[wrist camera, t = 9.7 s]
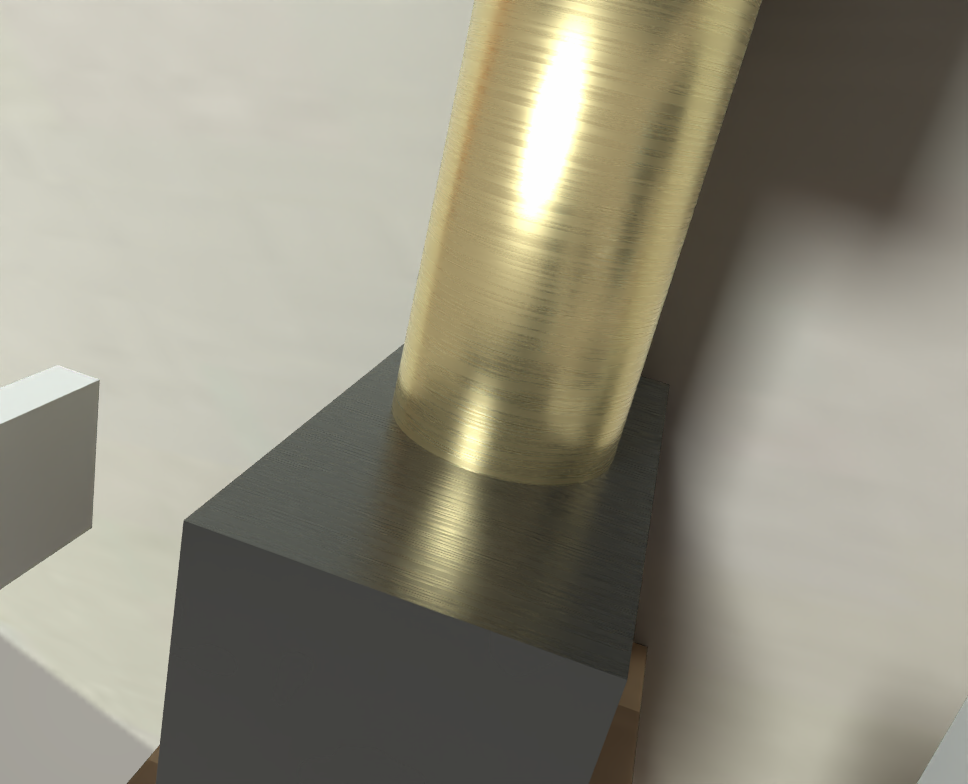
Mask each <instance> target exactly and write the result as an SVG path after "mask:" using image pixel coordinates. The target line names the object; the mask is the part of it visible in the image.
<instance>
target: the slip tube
mask: <svg viewBox="0 0 968 784" xmlns="http://www.w3.org/2000/svg"><path fill="white" fill-rule="evenodd" d="M761 2H762V0H475V1H474V5H473V10H472V15H471V20H470V25H469V30H468V35H467V40H466V45H465V49H464V54H463V59H462V64H461V69H460V74H459V79H458V84H457V89H456V94H455V98H454V103H453V108H452V113H451V118H450V123H449V128H448V133H447V138H446V142H445V147H444V152H443V157H442V162H441V167H440V172H439V177H438V182H437V187H436V191H435V196H434V201H433V206H432V211H431V216H430V221H429V226H428V231H427V235H426V240H425V245H424V250H423V255H422V260H421V265H420V270H419V275H418V280H417V284H416V289H415V294H414V299H413V304H412V309H411V314H410V319H409V324H408V329H407V333H406V338H405V343H404V344H403V345H402V346H401V347H400V348H398V349H397V350H396V351H395V352H393V353H392V354H391V355H390V356H388V357H387V358H386V359H385V360H383V361H382V362H381V363H380V364H378V365H377V366H376V367H375V368H373V369H372V370H371V371H370V372H368V373H367V374H366V375H365V376H363V377H362V378H361V379H360V380H358V381H357V382H356V383H355V384H353V385H352V386H351V387H350V388H348V389H347V390H346V391H345V392H343V393H342V394H341V395H340V396H338V397H337V398H336V399H335V400H333V401H332V402H331V403H330V404H328V405H327V406H326V407H325V408H323V409H322V410H321V411H320V412H318V413H317V414H316V415H315V416H313V417H312V418H311V419H310V420H308V421H307V422H306V423H305V424H304V425H302V426H301V427H300V428H299V429H297V430H296V431H295V432H294V433H292V434H291V435H290V436H289V437H287V438H286V439H285V440H284V441H282V442H281V443H280V444H279V445H277V446H276V447H275V448H274V449H272V450H271V451H270V452H269V453H267V454H266V455H265V456H264V457H262V458H261V459H260V460H259V461H257V462H256V463H255V464H254V465H252V466H251V467H250V468H249V469H247V470H246V471H245V472H244V473H242V474H241V475H240V476H239V477H237V478H236V479H235V480H234V481H232V482H231V483H230V484H229V485H227V486H226V487H225V488H224V489H222V490H221V491H220V492H219V493H217V494H216V495H215V496H214V497H212V498H211V499H210V500H209V501H207V502H206V503H205V504H204V505H203V506H201V507H200V508H199V509H198V510H196V511H195V512H194V513H193V514H191V515H190V516H189V517H188V518H186V519H185V520H184V523H183V532H182V542H181V551H180V560H179V570H178V579H177V589H176V598H175V607H174V617H173V626H172V635H171V645H170V654H169V664H168V673H167V682H166V692H165V701H164V710H163V720H162V729H161V739H160V748H159V757H158V767H157V776H156V784H589V782H590V779H591V776H592V774H593V771H594V768H595V766H596V763H597V760H598V758H599V755H600V752H601V750H602V747H603V744H604V742H605V739H606V736H607V733H608V731H609V728H610V725H611V723H612V720H613V717H614V715H615V712H616V709H617V707H618V704H619V701H620V699H621V696H622V693H623V691H624V688H625V685H626V683H627V679H628V672H629V665H630V658H631V651H632V644H633V637H634V630H635V623H636V616H637V609H638V602H639V595H640V588H641V581H642V574H643V567H644V560H645V553H646V546H647V539H648V532H649V525H650V518H651V511H652V504H653V497H654V490H655V483H656V476H657V468H658V461H659V454H660V447H661V440H662V433H663V426H664V419H665V412H666V405H667V398H668V391H669V384H666V383H662V382H659V381H656V380H652V379H649V378H646V377H642V376H641V373H642V370H643V367H644V363H645V360H646V357H647V354H648V351H649V348H650V345H651V342H652V339H653V336H654V333H655V329H656V326H657V323H658V320H659V317H660V314H661V311H662V308H663V305H664V302H665V299H666V295H667V292H668V289H669V286H670V283H671V280H672V277H673V274H674V271H675V268H676V265H677V261H678V258H679V255H680V252H681V249H682V246H683V243H684V240H685V237H686V234H687V231H688V227H689V224H690V221H691V218H692V215H693V212H694V209H695V206H696V203H697V200H698V197H699V193H700V190H701V187H702V184H703V181H704V178H705V175H706V172H707V169H708V166H709V163H710V159H711V156H712V153H713V150H714V147H715V144H716V141H717V138H718V135H719V132H720V129H721V125H722V122H723V119H724V116H725V113H726V110H727V107H728V104H729V101H730V98H731V95H732V91H733V88H734V85H735V82H736V79H737V76H738V73H739V70H740V67H741V64H742V61H743V57H744V54H745V51H746V48H747V45H748V42H749V39H750V36H751V33H752V30H753V27H754V24H755V20H756V17H757V14H758V11H759V8H760V5H761Z"/></svg>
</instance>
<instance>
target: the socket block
mask: <svg viewBox="0 0 968 784" xmlns="http://www.w3.org/2000/svg"><path fill="white" fill-rule="evenodd" d="M647 648H648V647H646V646H643V645H640V644H637V643H634V642H633V644H632V651H631V658H630V665H629V672H628V679H627V683H626V685H625V688H624V691H623V693H622V696H621V699H620V701H619V704H618V707H617V709H616V712H615V715H614V717H613V720H612V723H611V725H610V728H609V731H608V733H607V736H606V739H605V742H604V744H603V747H602V750H601V752H600V755H599V758H598V760H597V763H596V766H595V768H594V771H593V774H592V776H591V779H590V782H589V784H632V779H633V771H634V762H635V753H636V744H637V735H638V727H639V718H640V709H641V700H642V692H643V683H644V674H645V665H646V657H647ZM159 748H160V745H159V746H158V748H157V749H156V750H155V751H154V752H153V754H152V755H151V756H150V757H149V758H148V759H147V761H146V762H145V763H144V764H143V765H142V767H141V768H140V769H139V770H138V771H137V772H136V773H135V775H134V776H133V777H132V778H131V779H130V780H129V782H128V783H127V784H156V776H157V767H158V757H159Z"/></svg>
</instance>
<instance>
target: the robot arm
mask: <svg viewBox="0 0 968 784" xmlns="http://www.w3.org/2000/svg"><path fill="white" fill-rule="evenodd" d="M99 381H100V380H99V379H96V378H93V377H91V376H88V375H85V374H82V373H79V372H76V371H73V370H71V369H68V368H65V367H62V366H59V365H56V366H54V367H51V368H49V369H46V370H44V371H41V372H39V373H36V374H34V375H31V376H29V377H26V378H24V379H21V380H19V381H16V382H14V383H11V384H9V385H6V386H4V387H1V388H0V589H2V588H3V587H5V586H6V585H8V584H9V583H11V582H12V581H13V580H15V579H16V578H18V577H19V576H21V575H22V574H24V573H25V572H27V571H28V570H30V569H31V568H33V567H34V566H36V565H37V564H39V563H40V562H42V561H43V560H45V559H46V558H48V557H49V556H51V555H52V554H54V553H55V552H57V551H58V550H59V549H61V548H62V547H64V546H65V545H67V544H68V543H70V542H71V541H73V540H74V539H76V538H77V537H79V536H80V535H82V534H83V533H85V532H86V531H88V530H89V529H91V528H92V515H93V496H94V477H95V458H96V438H97V419H98V400H99ZM917 784H968V697H967V698H966V700H965V702H964V703H963V705H962V707H961V709H960V710H959V712H958V714H957V715H956V717H955V719H954V721H953V722H952V724H951V726H950V727H949V729H948V731H947V733H946V734H945V736H944V738H943V739H942V741H941V743H940V745H939V746H938V748H937V750H936V752H935V753H934V755H933V757H932V758H931V760H930V762H929V764H928V765H927V767H926V769H925V770H924V772H923V774H922V776H921V777H920V779H919V781H918V782H917Z"/></svg>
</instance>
